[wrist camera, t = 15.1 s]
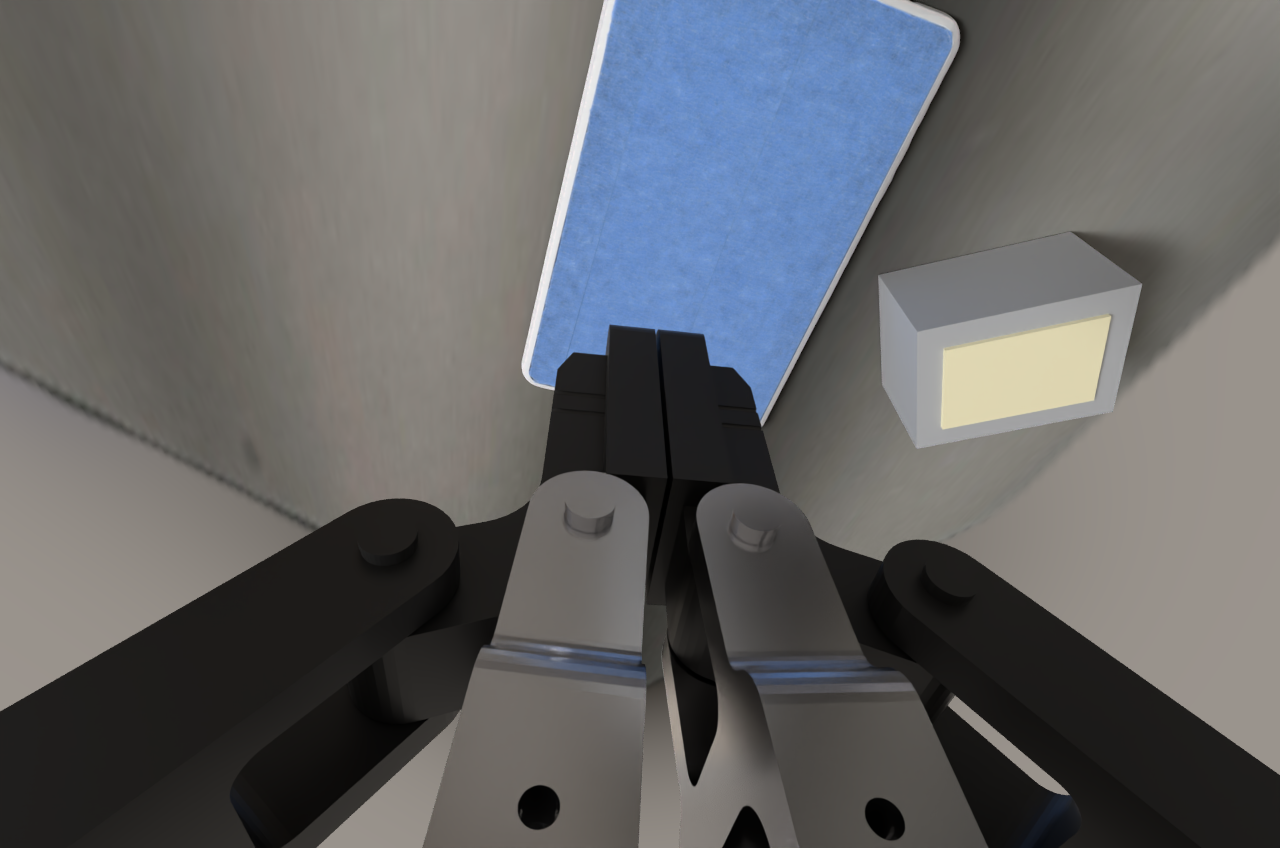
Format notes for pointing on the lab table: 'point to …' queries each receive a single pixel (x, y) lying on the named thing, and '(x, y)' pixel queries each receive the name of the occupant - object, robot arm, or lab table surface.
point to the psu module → (1005, 338)
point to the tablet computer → (729, 172)
